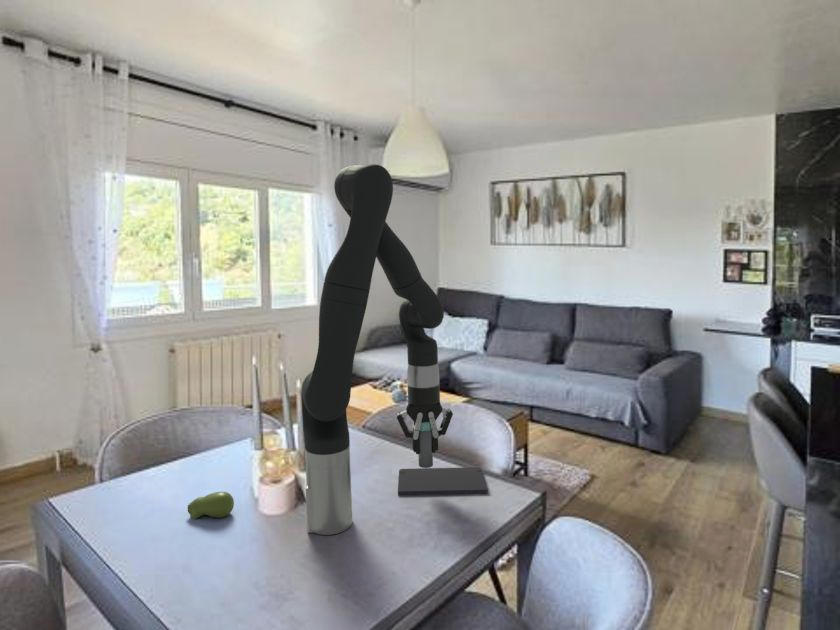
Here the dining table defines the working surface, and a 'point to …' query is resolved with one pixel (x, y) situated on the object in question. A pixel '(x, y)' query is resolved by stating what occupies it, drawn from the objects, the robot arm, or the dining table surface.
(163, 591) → the dining table surface
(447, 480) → the notebook
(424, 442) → the marker
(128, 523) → the dining table surface
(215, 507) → the pear
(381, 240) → the robot arm
